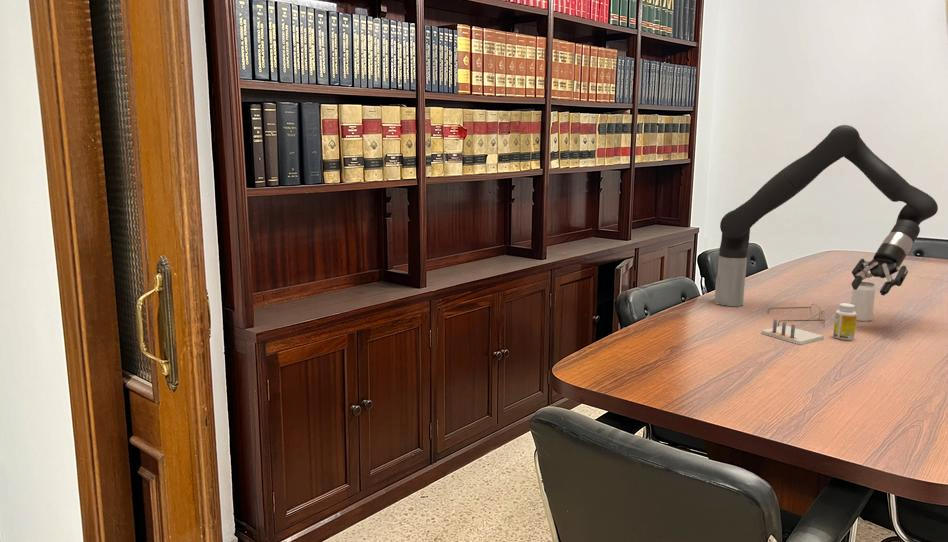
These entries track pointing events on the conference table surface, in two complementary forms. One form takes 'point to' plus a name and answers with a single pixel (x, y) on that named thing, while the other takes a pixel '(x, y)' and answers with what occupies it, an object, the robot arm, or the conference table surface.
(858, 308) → the can
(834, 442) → the conference table surface
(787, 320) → the eyeglasses
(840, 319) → the supplement bottle
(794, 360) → the conference table surface
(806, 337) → the header board
